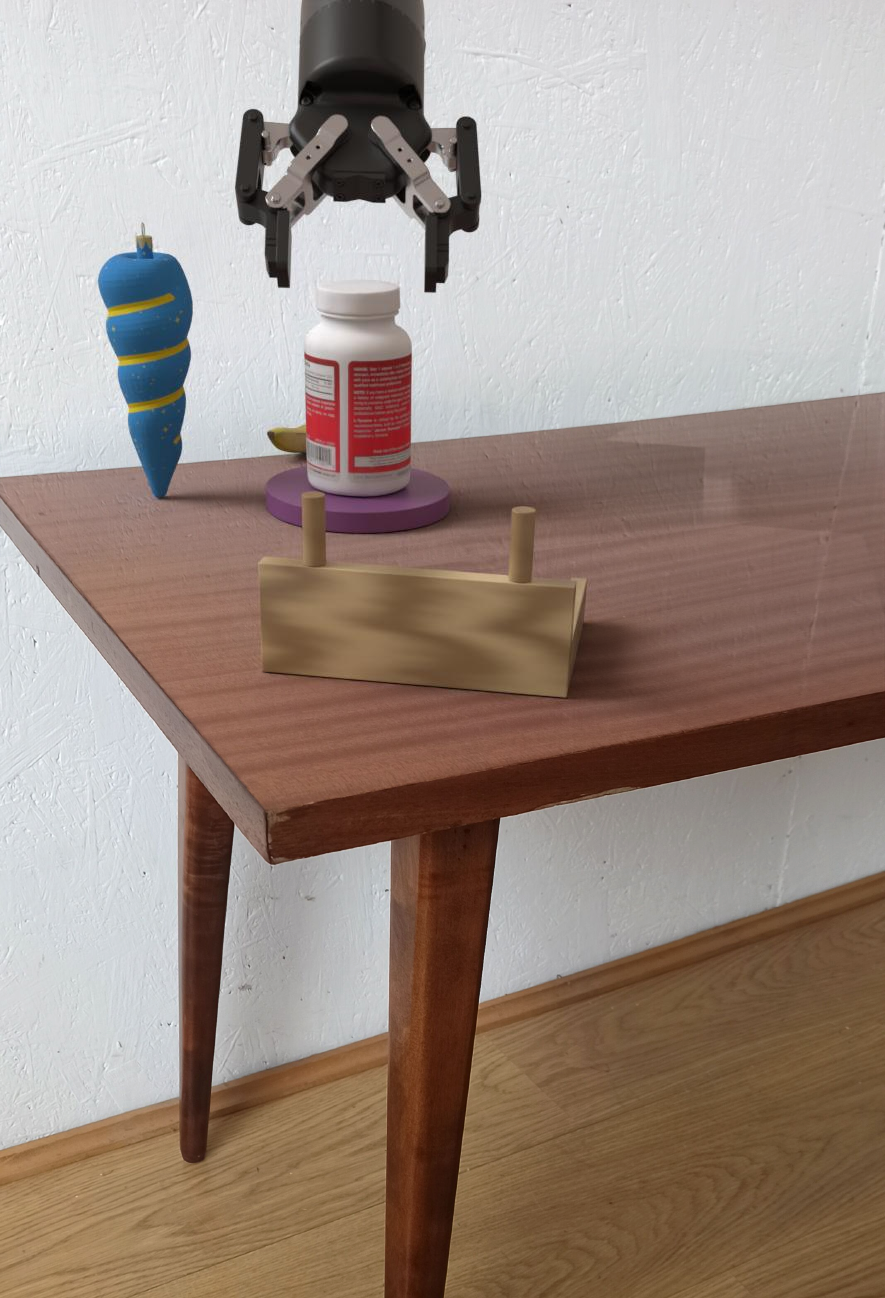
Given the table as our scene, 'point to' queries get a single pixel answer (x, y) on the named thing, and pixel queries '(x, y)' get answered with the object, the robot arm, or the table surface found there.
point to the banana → (289, 439)
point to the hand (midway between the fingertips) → (357, 281)
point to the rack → (420, 618)
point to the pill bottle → (358, 390)
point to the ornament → (150, 351)
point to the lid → (362, 503)
